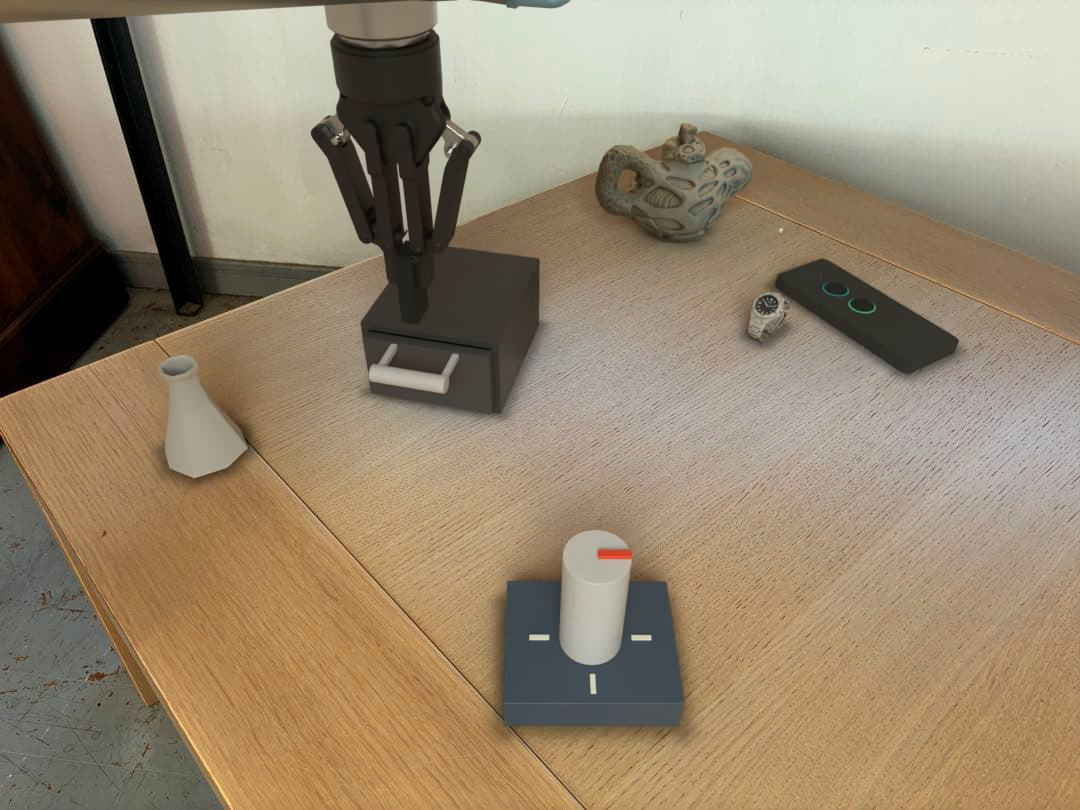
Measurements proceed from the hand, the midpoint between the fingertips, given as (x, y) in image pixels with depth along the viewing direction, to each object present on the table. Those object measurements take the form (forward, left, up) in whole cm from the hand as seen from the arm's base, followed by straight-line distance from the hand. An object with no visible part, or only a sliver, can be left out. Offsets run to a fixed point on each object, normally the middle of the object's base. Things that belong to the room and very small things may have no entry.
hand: (415, 314), depth 72 cm
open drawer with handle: (+5, +3, -11) cm, 13 cm away
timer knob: (-9, -29, -9) cm, 32 cm away
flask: (-17, +11, -13) cm, 24 cm away
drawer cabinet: (+9, +5, -12) cm, 16 cm away
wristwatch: (+36, -16, -13) cm, 41 cm away
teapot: (+46, +5, -13) cm, 48 cm away
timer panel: (-9, -29, -12) cm, 33 cm away
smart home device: (+46, -22, -13) cm, 52 cm away
